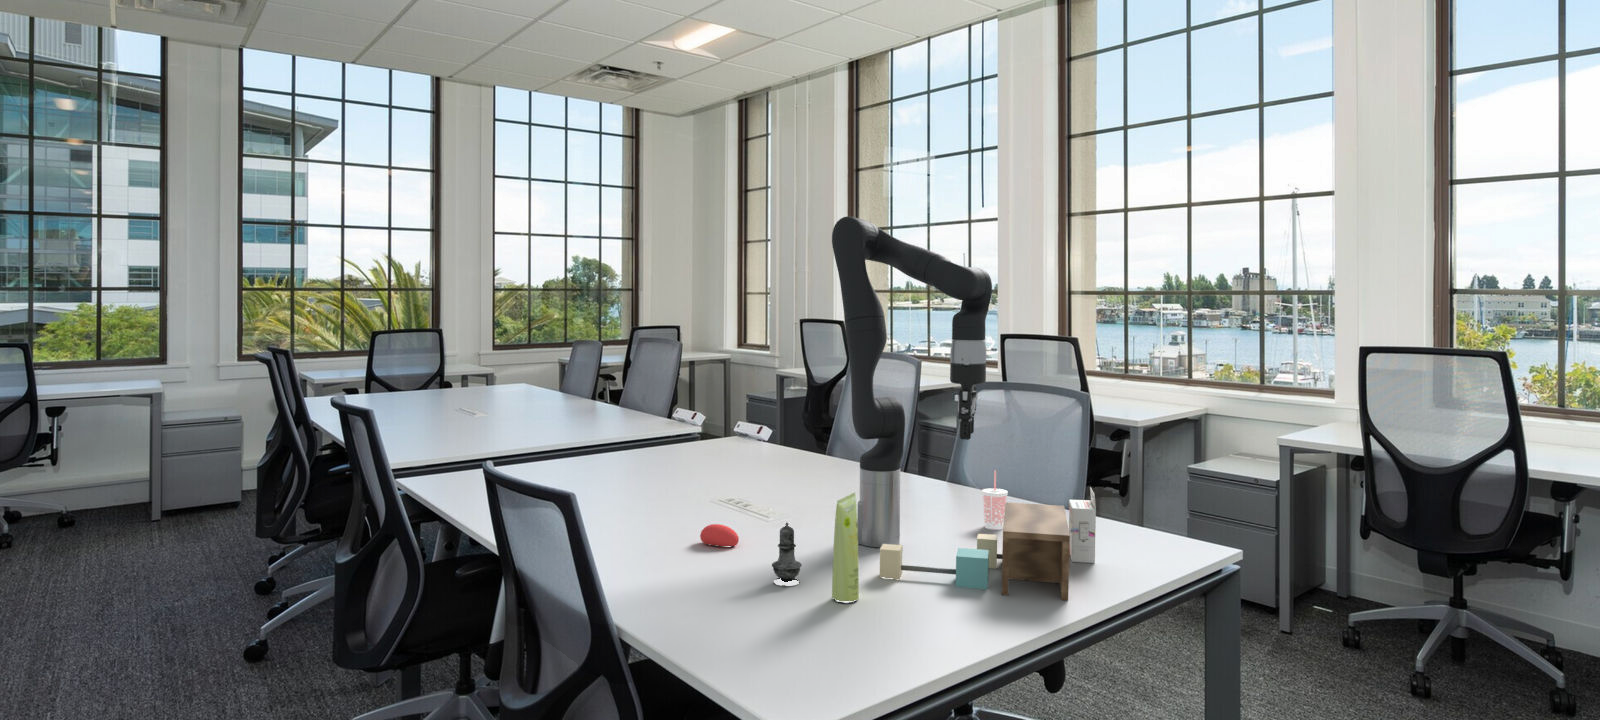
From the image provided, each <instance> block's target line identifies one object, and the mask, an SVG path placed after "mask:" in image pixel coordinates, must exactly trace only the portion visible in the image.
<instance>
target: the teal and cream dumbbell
mask: <svg viewBox="0 0 1600 720" xmlns="http://www.w3.org/2000/svg"><path fill="white" fill-rule="evenodd" d="M903 546H904V545H901V544H898V545H892V544H883V545H882V546H881V547H879V578H880V577H885V578H893V579H900V577H901V578H902V576H901V575H903V571H906V572H907V571H908V572H919V573H931V574H933V573H934V574H947V575H955V588H967V589H979V590H988V585H989V569H990V568H989V550H982V549H977V548H969V547H968V548H967V547H958V548H957V552H956V555H955V568H945V567H944V568H943V567H934V566H933V567H930V566H918V565H916V566H915V565H908V564H907V565H904V564H903V550H904V549H903ZM900 580H901V579H900Z"/></svg>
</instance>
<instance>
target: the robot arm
mask: <svg viewBox="0 0 1600 720" xmlns="http://www.w3.org/2000/svg"><path fill="white" fill-rule="evenodd" d="M831 244H832V251H833V256H834V260H835V263H836V269H837V272H838V273H837V274H838V277H839V285H840V292H841V293H840V294H841V300H842V306H843V315H844V317H843V318H844V327H845V328H844V329H845V336H846V344H847V348H848V350H847V351H848V359H849V369H850V370H849V371H850V383H851V387H850V389H851V390H850V391H851V394H850V395H851V415H852V416H851V417H852V424H853V428H854V431H855V432H856V435H857V436H858V438H861V439H862V440H877V441H876V444H875V445H874V446H873V447H872V448H870V449H869V450H867V451H866V452H863V453H862V454H861V455H860V458H859V501H858V502H857V528H858V545H863V546H867V547H871V548H881V546H882V545H883V544H892V545H900V542H901V541H900V536H901V533H900V532H901V528H900V527H901V522H900V521H901V464H902V463H901V462H902V459H903V456H904V450H905V449H904V448H905V432H906V431H905V430H906V414H905V409H904V406H903V404H902V402H901V400H899V399H898V398H896V397H893V396H885V397H875V396H874V376H875V371H876V369H877V366H878V363H879V362H880V359H881V357H882V354H883V352H884V350H885V347H886V344H887V339H888V336H887V335H888V334H887V333H888V332H887V325H886V318H885V313H884V308H883V306H882V303H881V300H880V298H879V297H878V294H877V293H876V290H875V289H874V287H873V285H872V282H871V281H870V278H869V273H868V271H867V264H866V261H872V262H877V263H881V264H885V265H887V266H890V267H892V268H894V269H896V270H898V271H900V272H901V273H903V274H904V275H906V276H908V277H910V278H912V279H914V280H916V281H918V282H921V283H922V284H925V285H928V286H931V287H933V288H936V290H938V291H940V292H941V293H943V294H945V295H946V296H949V298H950V297H951V298H952V299H956V300H959V301H961V306H960V309H959V311H958V312H956V313H955V314H954V315H953V316H952V322H951V325H952V326H951V345H950V359H949V360H950V361H949V362H950V366H949V367H950V369H949V371H950V372H949V376H950V377H949V381H950V383H952V384H957V385H958V384H959V385H960V386H961V387H960V389H961V390H958V391H957V401H958V402H957V411H958V415H957V417H958V422H959V438H960V439H961V440H964V441H965V440H968V441H969V440H970V439H971V438H972V434H973V433H974V432H975V429H974V428H975V416H976V411H977V407H978V405H977V404H978V403H977V401H978V395H979V394H978V391H976V390H977V386H976V385H983V384H985V383H986V382H987V381H986V380H987V374H986V373H987V346H986V345H987V344H986V320H987V315H988V313H989V308H990V302H991V298H992V294H993V285H992V284H993V283H992V278H991V276H990V274H989V273H988V271H986V270H985V269H984V268H980V267H969V266H963V265H959V264H957V263H954V262H952V260H950V259H949V258H948V257H947V256H944V255H942V254H939V253H937V252H934V251H931V250H930V249H926V248H923V247H920V246H918V245H915V244H911V243H907V242H905V241H902V240H900V239H898V238H896V237H894V236H893V235H890V234H889V233H887V232H886V231H884V230H883V229H881V228H880V227H878V226H876V225H875V224H874V223H873V222H871V221H870V220H869V221H868V220H865V219H861V218H858V217H855V216H843V217H842V218H839V220H837V222H836V223H835V224H834V226H833V229H832V233H831Z"/></svg>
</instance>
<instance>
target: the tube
mask: <svg viewBox="0 0 1600 720" xmlns="http://www.w3.org/2000/svg"><path fill="white" fill-rule="evenodd" d="M836 502H837V503H836V506H835V507H836V509H835V519H834V532H833V533H834V536H833V558H832V584H831V585H832V587H831V588H832V590H831V599H832V598H834V599H836V600H839V601H854V600H857V599H858V598H859V596H860V595H859V593H860V591H859V581H860V580H859V575H860V574H859V571H860V568H859V544H858V528H857V513H858V506H857V497H856V492H855V491H854V492H852V493H850V494H849V495H846V496H844V497H842V498H840V499H838V500H837V501H836ZM858 600H859V599H858ZM858 600H857V601H858Z"/></svg>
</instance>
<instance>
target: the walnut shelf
mask: <svg viewBox="0 0 1600 720" xmlns="http://www.w3.org/2000/svg"><path fill="white" fill-rule="evenodd" d="M1065 510H1066V508H1065V505H1056V504H1054V505H1053V504H1041V503H1040V504H1039V503H1038V504H1037V503H1020V502H1007V501H1006V503H1005V514H1004V525H1003V529H1002V552H1001V553H1002V559H1001V562H1002V563H1001V564H1002V565H1001V596H1009V582H1010V581H1009V580H1016V581H1017V580H1018V581H1031V582H1040V583H1041V582H1042V583H1043V582H1044V583H1055V584H1056V583H1057V584H1059V592H1060V600H1061V601H1069V587H1070V586H1069V585H1070V584H1069V583H1070V582H1069V581H1070V580H1069V579H1070V576H1069V575H1070V554H1069V548H1070V534H1069V523H1068V521H1067V520H1068V519H1067V514H1066V511H1065Z"/></svg>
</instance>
